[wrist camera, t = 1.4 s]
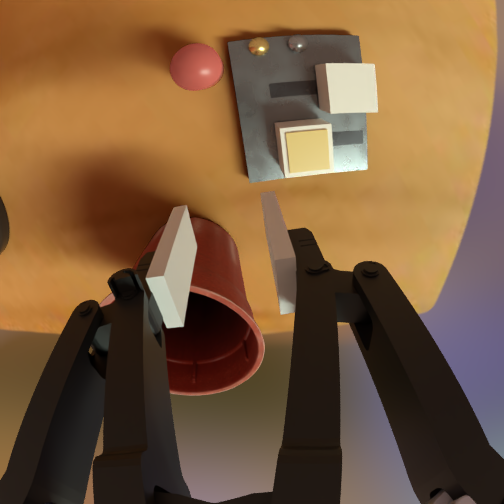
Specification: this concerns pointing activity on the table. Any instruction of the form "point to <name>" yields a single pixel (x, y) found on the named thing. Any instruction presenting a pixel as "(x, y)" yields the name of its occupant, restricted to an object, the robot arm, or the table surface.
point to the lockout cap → (196, 67)
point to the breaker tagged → (305, 147)
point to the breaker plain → (346, 87)
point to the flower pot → (211, 319)
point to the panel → (292, 97)
